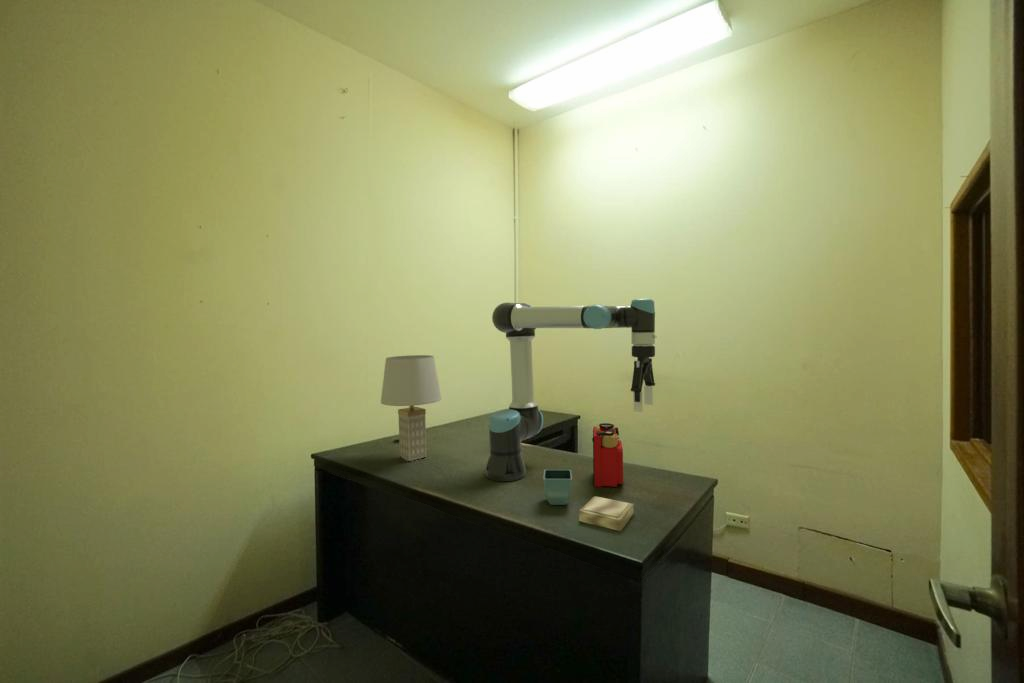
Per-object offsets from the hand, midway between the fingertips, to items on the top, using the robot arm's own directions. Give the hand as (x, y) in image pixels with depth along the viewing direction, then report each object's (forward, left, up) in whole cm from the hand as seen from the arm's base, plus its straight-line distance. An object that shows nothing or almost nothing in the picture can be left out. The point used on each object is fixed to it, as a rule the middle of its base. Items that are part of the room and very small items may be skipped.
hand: (643, 408), depth 145 cm
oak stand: (-3, -28, -27) cm, 39 cm away
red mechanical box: (-13, +1, -27) cm, 30 cm away
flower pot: (-20, -25, -27) cm, 42 cm away
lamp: (-94, -14, -27) cm, 99 cm away
